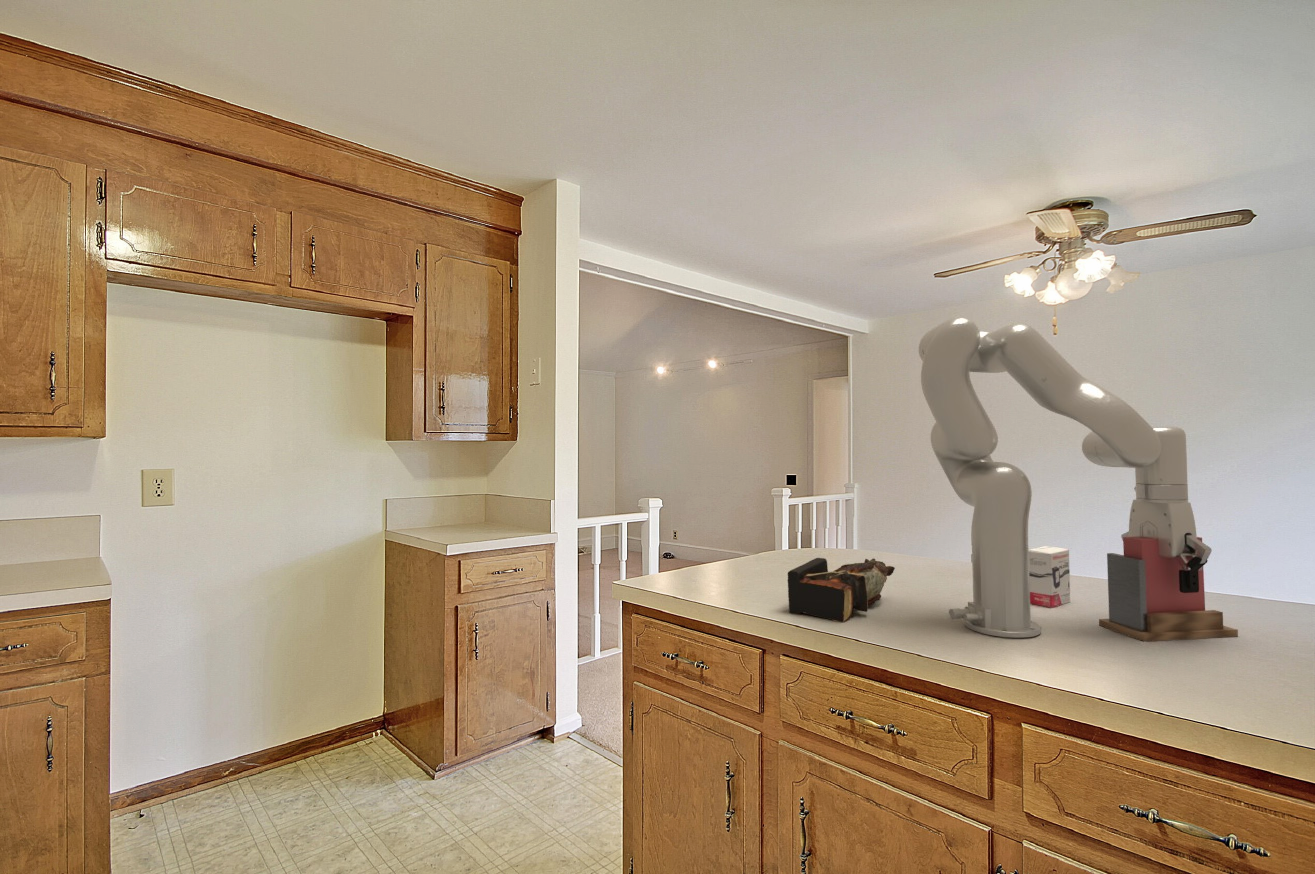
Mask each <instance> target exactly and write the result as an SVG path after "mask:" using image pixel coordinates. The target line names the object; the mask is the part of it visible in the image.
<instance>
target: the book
mask: <svg viewBox="0 0 1315 874" xmlns="http://www.w3.org/2000/svg"><path fill="white" fill-rule="evenodd" d="M1197 539H1198V540H1200V541H1201V542H1203V537H1199V536H1197ZM1122 542H1123V545H1122V547H1123V555H1125V556H1130V557H1135V558H1140V559H1144V560H1145V572H1146V602H1147V613H1166V612H1186V611H1206V599H1205V598H1206V596H1205V577H1204V575H1205V573H1204V566H1202V570H1198V573H1199V592H1196V593H1182V592H1180V590H1179V570H1183V569H1182V567H1181V566H1180V564H1179V563H1178V562H1177V560H1176V559H1175V557H1174V558H1166V557H1161V556H1160V555H1159V546H1158V539H1153V538H1147V537H1140V536H1137V537H1123V540H1122ZM1195 556H1196V555H1195ZM1185 559H1186V561H1187V562H1189V561H1188V559H1187V558H1185Z"/></svg>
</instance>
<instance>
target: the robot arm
mask: <svg viewBox="0 0 1315 874" xmlns="http://www.w3.org/2000/svg"><path fill="white" fill-rule="evenodd" d="M918 354H919V357H920V359H921V360H922V364H921V371H920V384H921V389H922V394H923V396H924V399H925V401H926V404H927V405H928V407H929V410H930V412H931V414H932V416H933V418H934V420H935V422H934V424H933V426H932V428H931V432H930V444H931V448H932V450H933V452H934V455H935V457H936V458H937V461H938V462H939V464H940V467H941V468H942V470H943V472H944V474H945V476H946V478H947V479H948V481H949V483H950V485H951V487H952V489H953V490H954V492H955V494H956V495H957V497H958V498H959V499H960V500H961V501H963V503H965V504H967V505H969V506H971V507H973V514H972V519H971V527H970V529H971V531H970V536H971V539H970V540H971V564H972V566H971V567H972V569H971V570H972V593H973V594H972V596H973V597H972V598H973V599H972V601H968V602H967V606H965V607H964V608H949V610H948V616H949V618H950V619H951V620H959V619H960V620H961V619H963V620H964V624H965V626H966V627H967V628H968V629H969V630H972V631H974V632H976V633H977V632H978V633H980V634H984V635H989V636H994V637H1000V638H1011V639H1021V638H1023V639H1024V638H1033V637H1037V636H1038V635H1040V634H1041V633H1042V632H1041V631H1042V628H1041V627H1042V626H1041V625H1040V624H1039V623H1038V622H1036V621H1034V620H1031V616H1032V614H1031V613H1032V612H1031V604H1030V579H1029V550H1030V548H1029V518H1030V511H1031V504H1032V495H1033V494H1032V487H1031V481H1030V480H1029V478H1028V476H1027V475H1026V474H1025V472H1024V471H1023V470H1022V469H1020V468H1019V467H1017V466H1015V465H1013V464H1011V463H1008V462H1002V461H994V460H993V459H992V457H991V454H993V453H994V452H995V450H996V448H997V446H998V442H999V440H998V439H999V438H998V433H997V430H996V428H995V426H994V424H993V422H992V421H991V418H990V417H989V415H988V413H987V411H986V409H985V407H984V406H983V404H982V402H981V401H980V399H979V397H978V395H977V392H976V390H975V388H974V387H973V386H974V385H973V384H972V381H971V376H970V373H980V374H981V373H982V374H983V373H985V374H986V373H987V374H989V373H990V374H991V373H992V374H995V373H996V374H999V373H1004V372H1006V373H1007V374H1008V375H1010V377H1012V378H1013V380H1014V381H1016V382H1017V384H1018V385H1019V386H1020V387H1022V388H1023V390H1024V391H1025V392H1027V394H1028V395H1029V396H1030V397H1031V398H1032V399H1033V400H1034V401H1035V402H1036V403H1037V404H1038V405H1039V406H1041V408H1044V409H1045V410H1048V411H1050V412H1052V413H1055V414H1058V415H1061V416H1064V417H1066V418H1070V419H1071V420H1073V421H1076V422H1078V423H1080V424H1081V425H1082V426H1084V427H1086V428H1088V429H1089V430H1091V431H1090V432H1089V433H1087V435H1086V436H1084V438H1083V441H1082V442H1081V451H1082V453H1083V455H1084V457H1085V458H1086V459H1087V460H1088V461H1089V462H1090V463H1093V464H1094V465H1097V466H1101V467H1106V468H1107V467H1108V468H1128V469H1134V470H1135V471H1134V475H1135V477H1134V478H1135V486H1134V489H1133V490H1134V492H1135V499H1132V503H1131V507H1130V510H1129V511H1130V512H1129V518H1128V519H1129V522H1128V531H1126V532H1125V533H1123V534H1121V535H1120V537H1121V540H1122V541H1123V537H1137V536H1140V537H1147V538H1153V539H1158V546H1159V555H1160V556H1161V557H1166V558H1174V557H1175V559H1176V560H1177V562H1178V563H1179V564H1180V566H1181V567H1182V569H1183V570H1179V590H1180V592H1182V593H1196V592H1199V573H1198V570H1202V566H1203V567H1204V566H1205V565H1206V564H1207V563H1208V559H1209V558H1210V555H1211V553H1212V547H1210V546H1208V545H1207V544H1206V543H1204V542H1203V541H1202V542H1201V541H1200V540H1198V539H1197V537H1198V536H1197V528H1196V522H1195V521H1196V520H1195V516H1194V511H1193V508H1192V504H1191V502H1190V501H1189V486H1188V484H1189V483H1188V482H1189V481H1188V463H1187V462H1188V459H1187V455H1188V454H1187V436H1186V435H1187V434H1186V432H1185V430H1183V429H1182V427H1178V426H1154V427H1153V426H1151V425H1150V424H1149V423H1148V422H1147V421H1146V419H1145V418H1144V417H1143V416H1141V415H1140V413H1138V411H1137V410H1135V409H1134V408H1133V407H1132V406H1131V405H1130V404H1129V403H1127V402H1126V401H1124V400H1123V399H1121V397H1119V396H1117V395H1115V394H1113V393H1112V392H1110V391H1109V390H1107V389H1105V388H1103V387H1102V386H1100V385H1099V384H1096V383H1095V382H1093V381H1091V380H1090V379H1087V378H1085V377H1084V376H1083V375H1082V374H1080V373H1079V371H1077V370H1076V369H1075V367H1073V366H1072V365H1071V364H1070V363H1069V362H1068V360H1066V359H1065V358H1064V357H1063V356H1062V354H1060V353H1059V352H1058V350H1056V349H1055V347H1053V345H1052V344H1051V343H1049V342H1048V341H1047V339H1045V338H1044V337H1043V335H1042V334H1040V333H1039V331H1037V330H1036V329H1035V328H1033V327H1032V326H1030V325H1028V324H1024V323H1014V324H1009V325H1006V326H1003V327H1001V328H999V329H997V330H995V331H993V330H992V331H980V330H979V327H978V326H977V324H976V323H975V322H974V321H973V320H971V319H969V318H966V317H953V318H950V319H948V320H945V321H944V322H942V323H939V324H938V325H937V326H935V327H934V328H932V329H930V330H929V331H927V332H926V333H925V334H924V335H923V336H922V338H921V339H920V341H919V344H918ZM1195 555H1196V556H1195ZM1185 558H1187V559H1188V561H1189V562H1187V561H1186V559H1185Z"/></svg>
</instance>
